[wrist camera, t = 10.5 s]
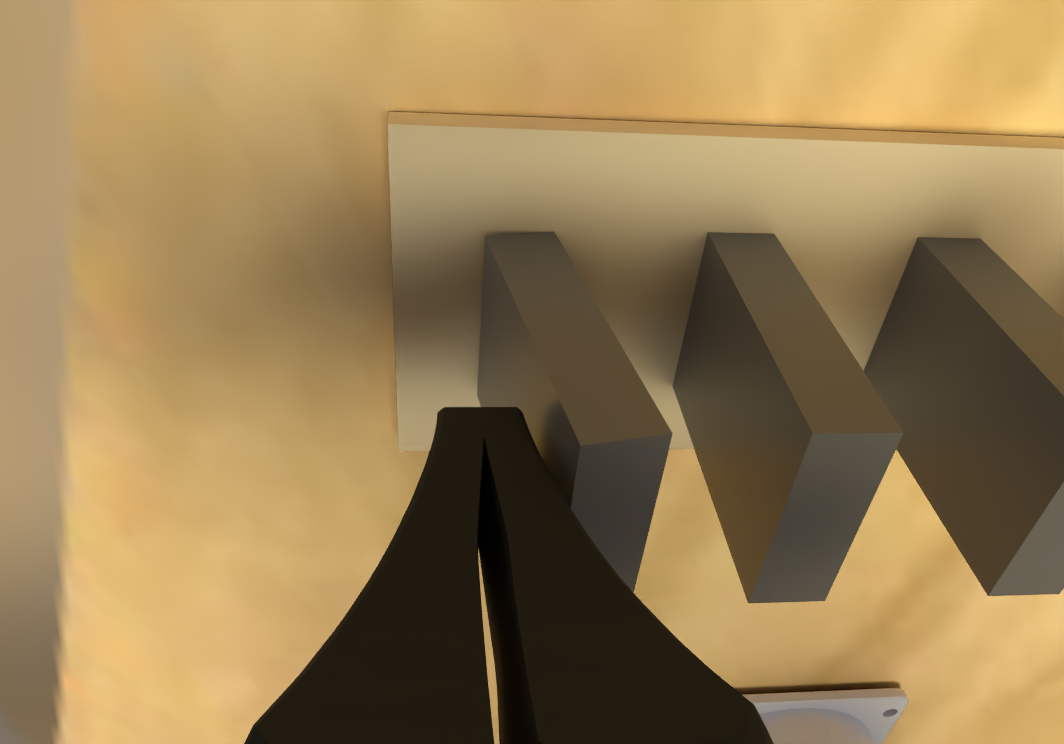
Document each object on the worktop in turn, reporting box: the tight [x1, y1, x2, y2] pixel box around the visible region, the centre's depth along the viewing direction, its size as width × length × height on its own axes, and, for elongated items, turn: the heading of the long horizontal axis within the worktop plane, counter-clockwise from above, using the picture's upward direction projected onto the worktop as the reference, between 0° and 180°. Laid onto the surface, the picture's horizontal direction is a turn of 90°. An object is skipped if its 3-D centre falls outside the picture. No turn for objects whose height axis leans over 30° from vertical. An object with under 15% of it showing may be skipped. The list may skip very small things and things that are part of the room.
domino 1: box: [477, 232, 673, 592], centre depth 15 cm, size 4×1×6 cm, turn 175°
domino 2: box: [673, 232, 903, 603], centre depth 16 cm, size 4×1×6 cm, turn 175°
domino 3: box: [864, 237, 1064, 596], centre depth 16 cm, size 4×1×6 cm, turn 175°
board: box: [387, 112, 1064, 451], centre depth 19 cm, size 8×28×1 cm, turn 85°
